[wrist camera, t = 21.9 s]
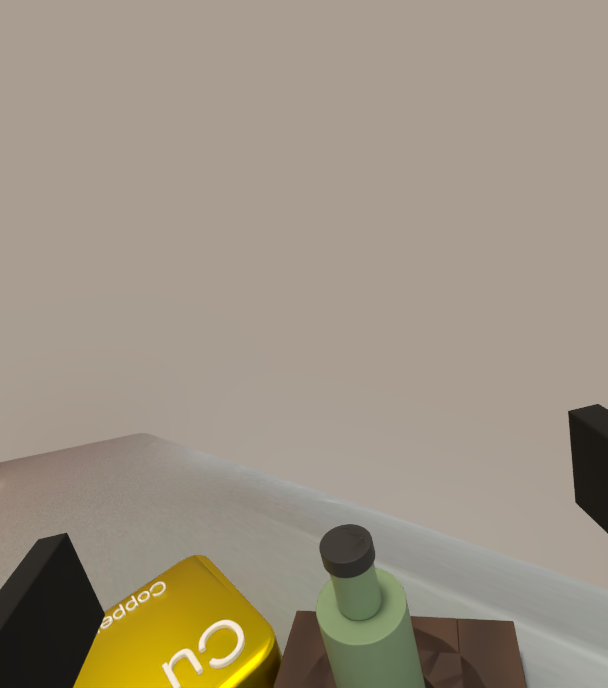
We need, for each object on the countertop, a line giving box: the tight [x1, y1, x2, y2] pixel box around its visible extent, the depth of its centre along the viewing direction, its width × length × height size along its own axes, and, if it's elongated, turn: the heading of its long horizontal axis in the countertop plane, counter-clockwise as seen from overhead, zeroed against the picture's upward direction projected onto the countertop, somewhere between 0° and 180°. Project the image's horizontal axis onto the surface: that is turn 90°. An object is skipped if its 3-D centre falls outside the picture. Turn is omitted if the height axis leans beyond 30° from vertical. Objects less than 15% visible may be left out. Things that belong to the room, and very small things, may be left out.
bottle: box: [316, 524, 425, 688], centre depth 25 cm, size 5×5×16 cm
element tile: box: [73, 555, 283, 688], centre depth 34 cm, size 15×15×5 cm
